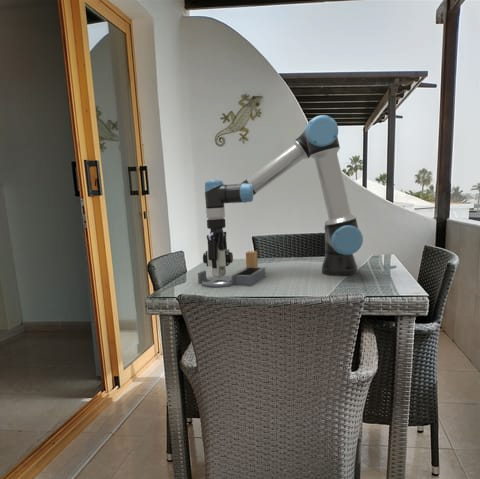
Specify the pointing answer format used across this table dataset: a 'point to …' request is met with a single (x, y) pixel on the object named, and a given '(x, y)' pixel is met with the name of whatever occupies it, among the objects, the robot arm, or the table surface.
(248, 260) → the tan rectangular block
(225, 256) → the pneumatic valve
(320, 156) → the robot arm
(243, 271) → the grey rectangular frame
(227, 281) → the grey disc
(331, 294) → the table surface
